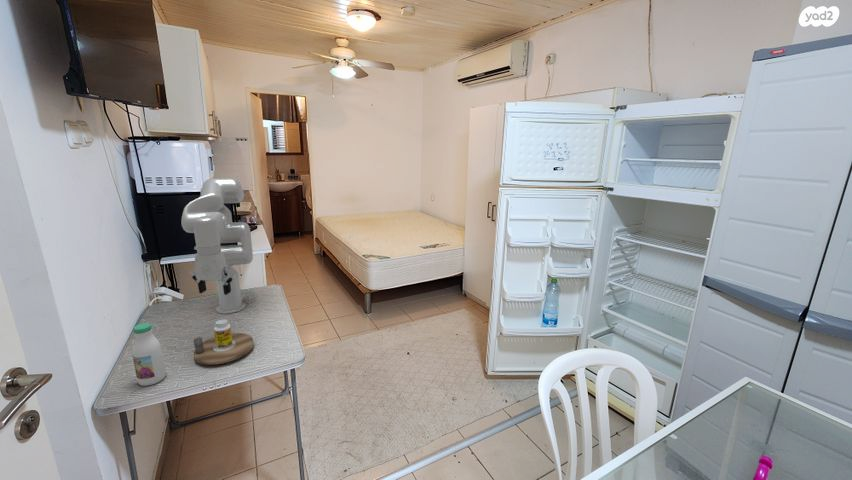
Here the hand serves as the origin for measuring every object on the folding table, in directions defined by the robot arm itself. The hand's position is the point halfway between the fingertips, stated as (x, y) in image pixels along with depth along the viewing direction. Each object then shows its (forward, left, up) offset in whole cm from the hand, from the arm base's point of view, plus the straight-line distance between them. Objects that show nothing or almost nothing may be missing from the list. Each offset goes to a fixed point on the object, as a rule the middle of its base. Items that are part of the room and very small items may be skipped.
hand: (215, 292), depth 134 cm
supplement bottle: (+3, +3, -21) cm, 21 cm away
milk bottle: (+22, -11, -23) cm, 34 cm away
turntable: (+4, +3, -22) cm, 22 cm away
